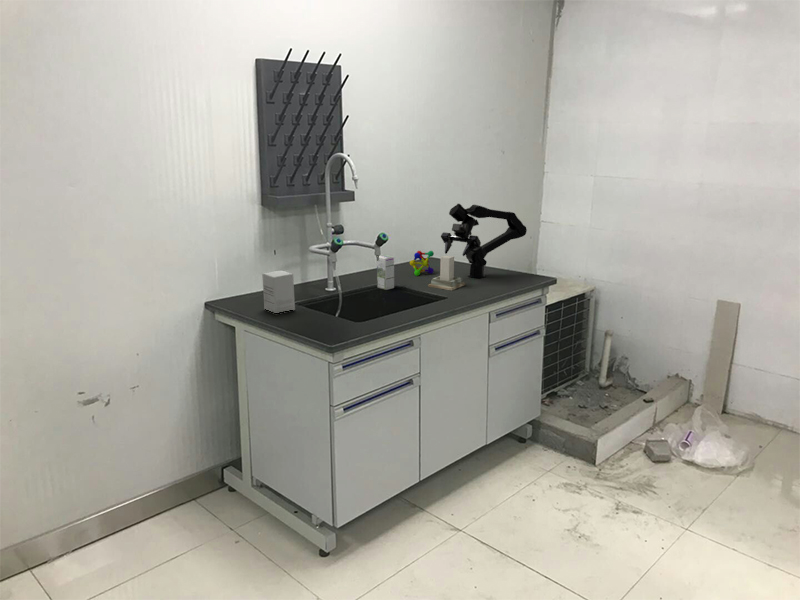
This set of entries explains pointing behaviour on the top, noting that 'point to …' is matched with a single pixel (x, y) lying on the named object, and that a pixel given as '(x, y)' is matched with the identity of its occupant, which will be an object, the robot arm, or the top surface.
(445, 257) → the fuselage block
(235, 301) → the top surface
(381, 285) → the syrup box
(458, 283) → the jig
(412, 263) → the molecular model
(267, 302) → the supplement box
